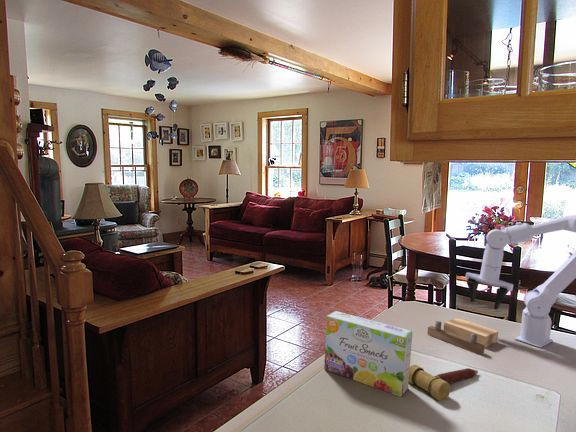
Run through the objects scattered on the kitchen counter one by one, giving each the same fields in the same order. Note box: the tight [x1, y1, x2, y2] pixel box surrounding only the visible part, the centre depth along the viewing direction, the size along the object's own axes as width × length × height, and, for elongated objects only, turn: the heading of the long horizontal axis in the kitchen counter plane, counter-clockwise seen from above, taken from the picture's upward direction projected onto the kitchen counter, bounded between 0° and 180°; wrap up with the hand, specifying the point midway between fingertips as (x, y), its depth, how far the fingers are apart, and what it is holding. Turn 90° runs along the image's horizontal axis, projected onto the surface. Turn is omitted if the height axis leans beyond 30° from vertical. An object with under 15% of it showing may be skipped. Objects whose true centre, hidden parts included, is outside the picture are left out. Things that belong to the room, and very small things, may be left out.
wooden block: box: [443, 317, 499, 348], centre depth 136 cm, size 8×14×4 cm, turn 37°
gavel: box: [409, 364, 479, 402], centre depth 106 cm, size 21×5×10 cm
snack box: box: [324, 310, 413, 398], centre depth 105 cm, size 21×6×15 cm, turn 55°
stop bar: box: [427, 320, 486, 356], centre depth 131 cm, size 2×18×5 cm, turn 37°
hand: (484, 305), depth 140 cm, fingers open, 7 cm apart
